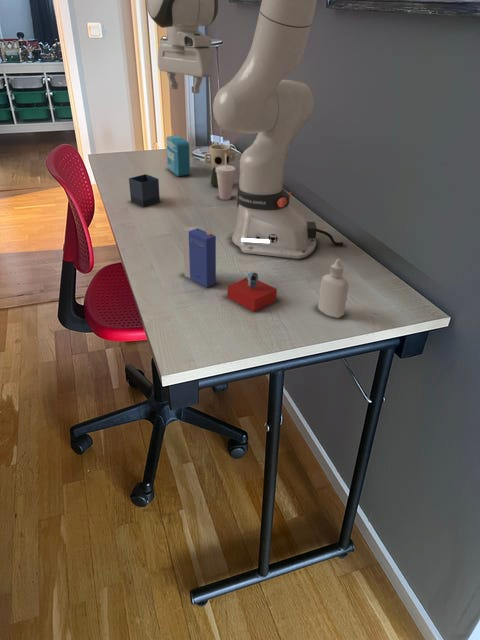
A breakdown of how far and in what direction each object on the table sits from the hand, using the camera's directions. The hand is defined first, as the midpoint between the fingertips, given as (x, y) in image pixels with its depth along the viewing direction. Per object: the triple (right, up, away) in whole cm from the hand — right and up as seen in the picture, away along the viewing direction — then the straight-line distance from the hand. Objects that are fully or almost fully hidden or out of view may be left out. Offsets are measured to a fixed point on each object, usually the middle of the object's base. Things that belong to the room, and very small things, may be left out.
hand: (184, 91), depth 150 cm
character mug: (+10, -22, +24) cm, 34 cm away
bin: (-11, -27, +8) cm, 30 cm away
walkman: (+7, -59, -34) cm, 69 cm away
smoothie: (+12, -29, +14) cm, 34 cm away
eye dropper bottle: (+35, -67, -45) cm, 88 cm away
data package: (-6, -14, +36) cm, 39 cm away
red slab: (+19, -64, -41) cm, 78 cm away
